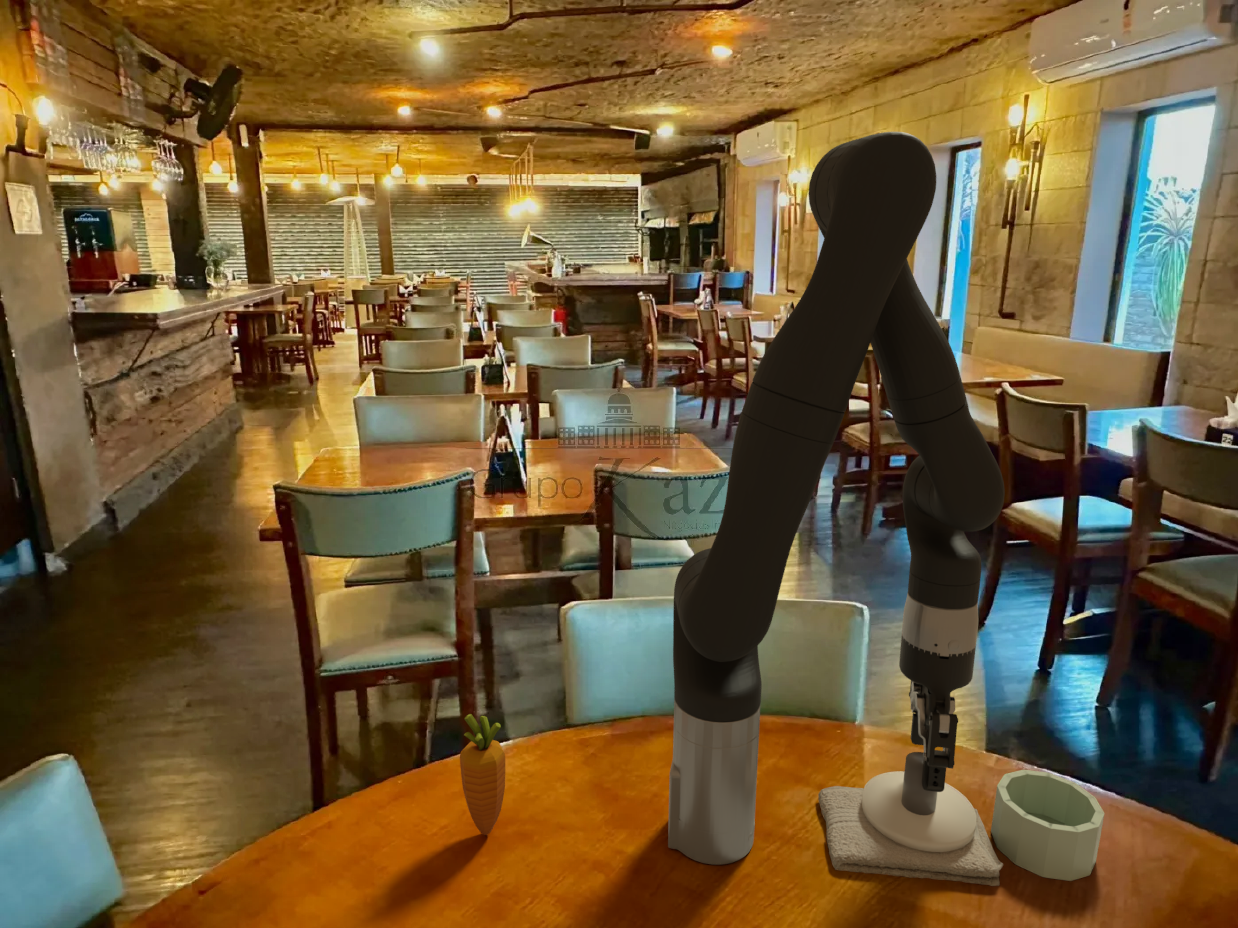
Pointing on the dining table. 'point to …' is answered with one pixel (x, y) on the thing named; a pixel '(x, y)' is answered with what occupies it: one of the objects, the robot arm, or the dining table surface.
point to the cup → (1047, 824)
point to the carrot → (483, 774)
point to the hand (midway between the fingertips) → (926, 765)
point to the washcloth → (898, 846)
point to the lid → (918, 810)
